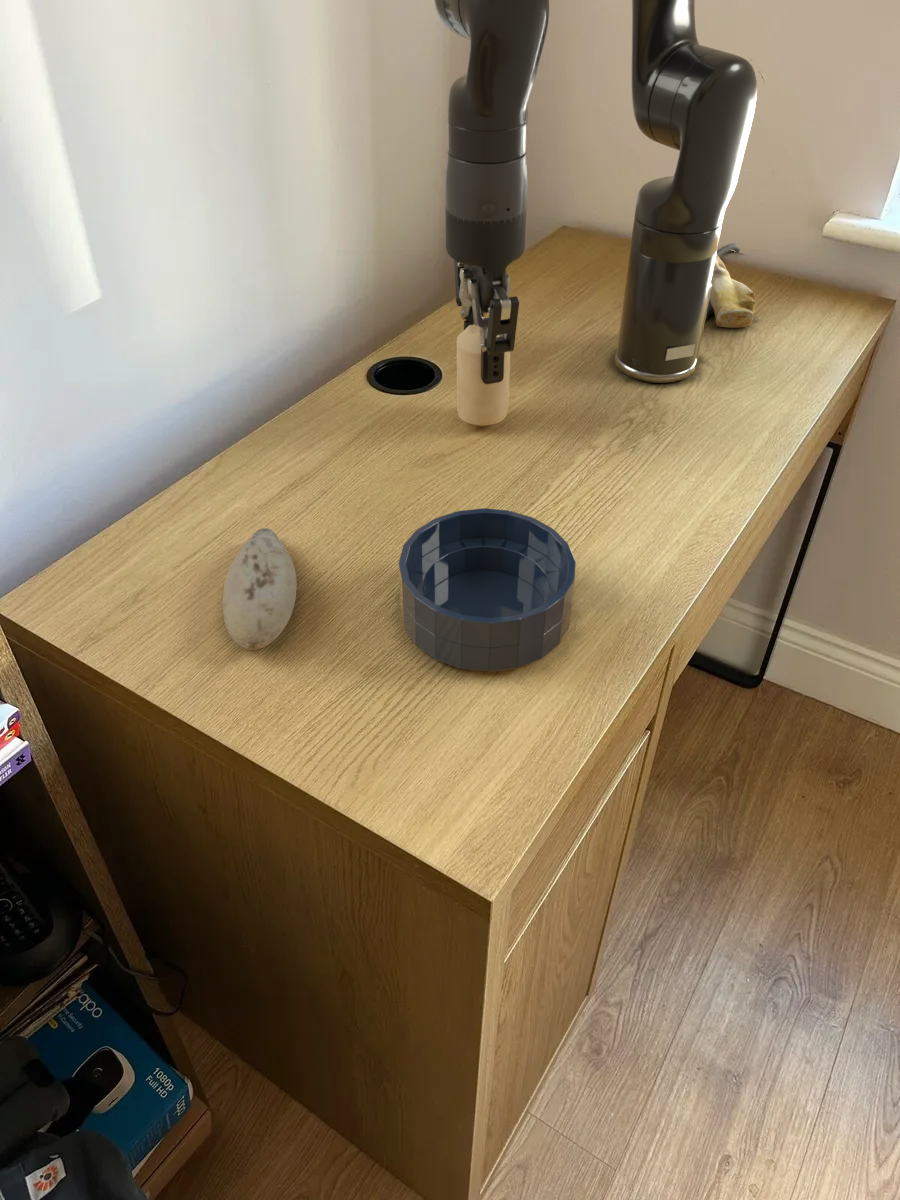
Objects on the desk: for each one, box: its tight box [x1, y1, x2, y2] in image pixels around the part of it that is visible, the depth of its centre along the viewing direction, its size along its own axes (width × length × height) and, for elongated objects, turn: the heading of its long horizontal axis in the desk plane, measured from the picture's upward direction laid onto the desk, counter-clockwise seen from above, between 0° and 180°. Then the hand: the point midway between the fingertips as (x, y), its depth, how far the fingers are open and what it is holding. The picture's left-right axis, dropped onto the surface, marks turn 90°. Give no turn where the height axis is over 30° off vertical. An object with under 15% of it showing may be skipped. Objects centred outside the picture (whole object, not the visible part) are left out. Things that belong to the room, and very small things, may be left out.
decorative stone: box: [222, 527, 298, 651], centre depth 82 cm, size 6×16×3 cm, turn 7°
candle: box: [456, 324, 511, 427], centre depth 100 cm, size 6×6×10 cm
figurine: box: [709, 254, 757, 329], centre depth 125 cm, size 5×5×15 cm
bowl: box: [398, 507, 577, 673], centre depth 80 cm, size 14×14×6 cm
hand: (483, 366), depth 100 cm, fingers closed on candle, 5 cm apart
